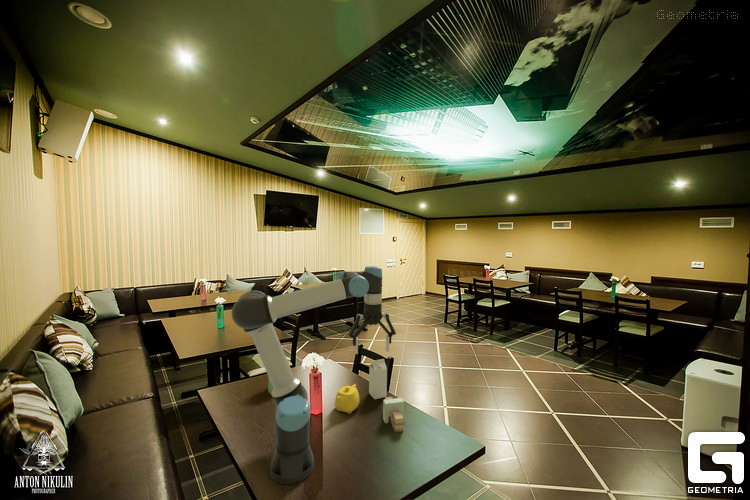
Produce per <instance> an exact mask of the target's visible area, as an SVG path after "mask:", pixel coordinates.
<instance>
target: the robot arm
mask: <svg viewBox="0 0 750 500" xmlns="http://www.w3.org/2000/svg"><path fill="white" fill-rule="evenodd" d="M382 292H383V269H382V267H380V266H374V265H372V266H370V265H369V266H368V265H367V266H365V268H364V270H363V271H345V270H344V271H337V273H336V276H335V280H332V281H329V282H328V281H327V282H324V283H320V284H317V285H314V286H313V285H312V286H310V287H307V288H302V289H299V290H298V289H297V290H295V291H291V292H287V293H283V294H279V295H276V296H270V295H266V293H264V292H262V291H260V290H250V291H247V292H245V293H243V294H241V295H240V297H239V298H238V299H237V300H236V302H235V303H234V304H233V307H231V312H230V314H231V319H232V321H233V323H234V324H235V325H236V326H237V327H238V328H241V329H243V332H244V333H245V334H249V335H250V336H251V339H252V341H253V343H254V346H255V347H256V350H257V353H258V355H259V357H260V360H261V362H262V365H263V367H264V370H265V371H266V374H267V377H268V376H269V379H270V381H271V384H272V386H273V390H272V393H271V397H272V399H273V401H274V404H275V406H276V409H275V411H276V412H275V416H274V417H275V450H274V453H273V456H272V459H271V462H270V466H269V467H270V469H269V470H270V471H269V472H270V473H269V475H270V477H271V479H272V480H273V481H274V482H275V483H276V484H280V485H284V484H285V485H287V486H288V485H289V486H290V485H294V484H298V483H301V482H302V481H304V480H305V479H307V478H308V477H309V476H310V475H311V474H312V472H313V471H314V468H315V459H314V458H315V457H314V454H313V452H312V449H311V445H310V417H311V408H310V404H309V402H308V392H307V390H306V388H305V386H304V385H303V384H302V381H301V379H300V378H299V377H297V376H295V375H294V373H293V370H292V368H291V366H290V364H289V360H288V359H287V356H286V354H285V351H284V349H283V347H282V344H281V342H280V339H279V337H278V334H277V331H276V329H275V327H274V325H273V324H274V323H275V322H276V321H277V319H280V318H283V317H287V316H291V315H293V314H297V313H300V312H304V311H307V310H311V309H315V308H319V307H322V306H324V305H327V304H331V303H335V302H338V301H341V300H346V299H348V298H353V297H355V298H362V297H363V302H364V304H363V313H362V314H360V313H356V316H355V319H354V322H353V324H352V326H351V328H350V330H349V331H348V337H349V338H352V345H353V347H354V353H355V355H358V354H359V337H358V336H359V335H360V334H361V333H362V331H363V330H364V329H365V328H366V327H367V326H368V325H369V326H373V325H374V326H375V325H376V326H377V325H378V324H379V326H380V327H381V328H382V329H383V330H384V331H385V334H386V335H385V351H386V352H387V353H390V344H392V337H393V336H395V335H396V334H397V332H396V330H395V328H394V327H393V325H392V322H391V320H390V315H389V313H388V312H385V313H382V301H383V295H382ZM362 319H363V321H362V323H361V324H360V325H359V323H360V321H361V320H362ZM382 319H385V321H386V324H387V326H388V327H389V329H388V328H387V327H386V326H385V324H384V323H383V322H382V321H381V320H382ZM358 325H359V327H358ZM357 327H358V328H357ZM307 476H308V477H307ZM306 477H307V478H306Z"/></svg>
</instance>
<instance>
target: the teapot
mask: <svg viewBox="0 0 750 500" xmlns="http://www.w3.org/2000/svg"><path fill="white" fill-rule="evenodd" d="M359 404H360V394H359V391H358V388H357V385H356V384H352V385H344V386H342V387H341V388H340V389H339V390H338V391H337V393H336V396H335V399H334V407H335V410H337V411H338V412H343V413H347V415H348V414H349V415H350V414H352V412H353V411H355V410H356V409H357V408H358V406H359Z"/></svg>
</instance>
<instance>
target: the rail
mask: <svg viewBox="0 0 750 500" xmlns="http://www.w3.org/2000/svg"><path fill="white" fill-rule="evenodd" d="M386 399H394V398H393V396H388V397H387V396H386V397H384V400H386ZM389 422H390V424H391V426H392V428H393V431H394V432H395V433H402V432H404V421H403V416H402V414H401V413H400V411H399V410H395V411H392V416H389Z"/></svg>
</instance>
